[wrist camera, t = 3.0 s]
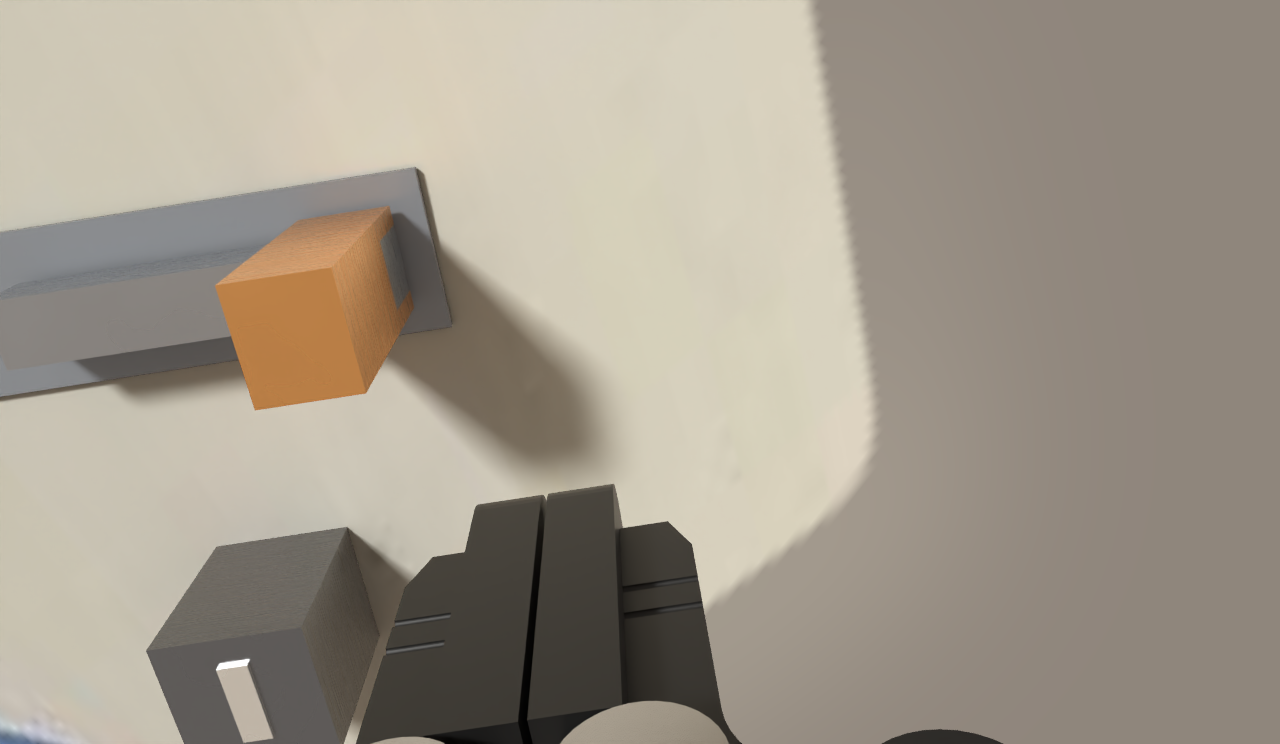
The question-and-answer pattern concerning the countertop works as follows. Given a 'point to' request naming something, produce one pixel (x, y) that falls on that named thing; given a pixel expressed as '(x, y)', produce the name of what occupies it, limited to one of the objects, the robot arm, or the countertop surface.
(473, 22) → the countertop surface
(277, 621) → the grey cube with slot
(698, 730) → the robot arm
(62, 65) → the countertop surface
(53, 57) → the countertop surface
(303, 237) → the drive pin
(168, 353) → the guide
